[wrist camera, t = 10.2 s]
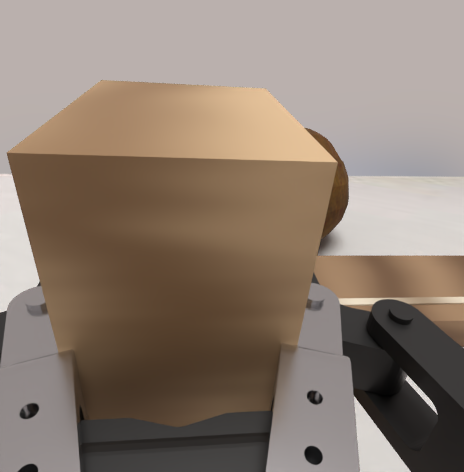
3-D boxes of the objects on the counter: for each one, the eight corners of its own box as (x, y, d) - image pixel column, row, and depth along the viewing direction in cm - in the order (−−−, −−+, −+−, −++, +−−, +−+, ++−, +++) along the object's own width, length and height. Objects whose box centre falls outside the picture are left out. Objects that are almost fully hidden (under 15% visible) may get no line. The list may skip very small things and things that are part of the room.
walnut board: (457, 278, 26) (468, 254, 25) (521, 344, 21) (540, 317, 20) (73, 282, 23) (67, 254, 22) (40, 359, 18) (30, 328, 17)
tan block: (225, 286, 22) (240, 63, 16) (256, 530, 11) (337, 161, 5) (147, 287, 21) (131, 56, 15) (108, 543, 11) (6, 152, 5)
